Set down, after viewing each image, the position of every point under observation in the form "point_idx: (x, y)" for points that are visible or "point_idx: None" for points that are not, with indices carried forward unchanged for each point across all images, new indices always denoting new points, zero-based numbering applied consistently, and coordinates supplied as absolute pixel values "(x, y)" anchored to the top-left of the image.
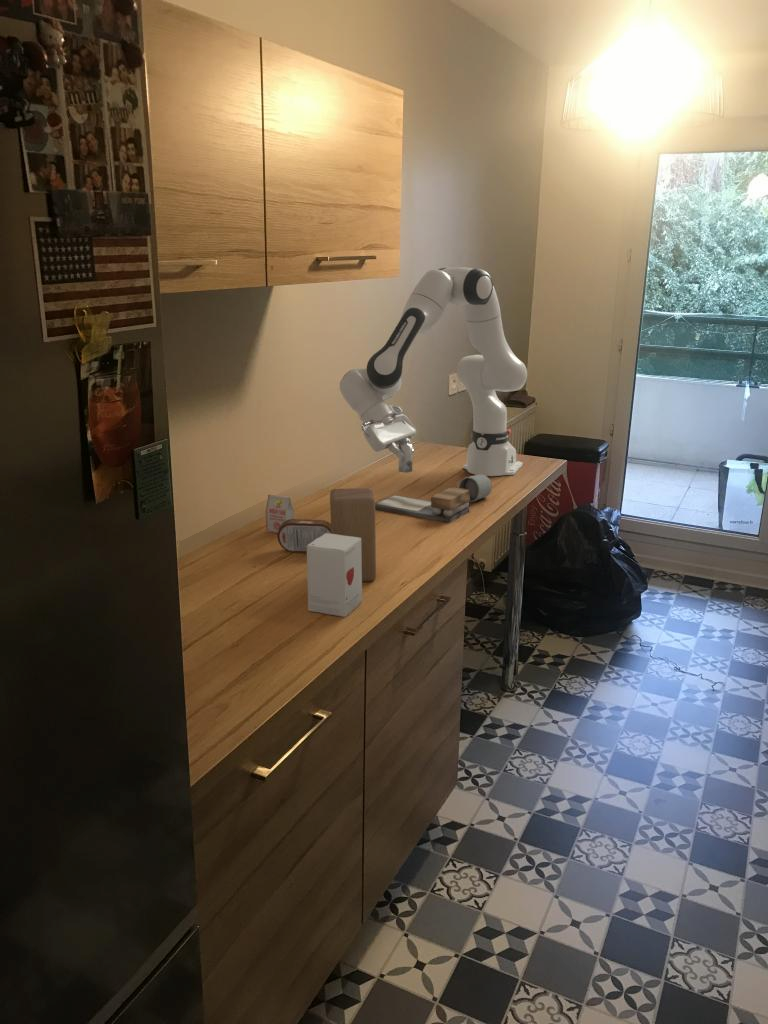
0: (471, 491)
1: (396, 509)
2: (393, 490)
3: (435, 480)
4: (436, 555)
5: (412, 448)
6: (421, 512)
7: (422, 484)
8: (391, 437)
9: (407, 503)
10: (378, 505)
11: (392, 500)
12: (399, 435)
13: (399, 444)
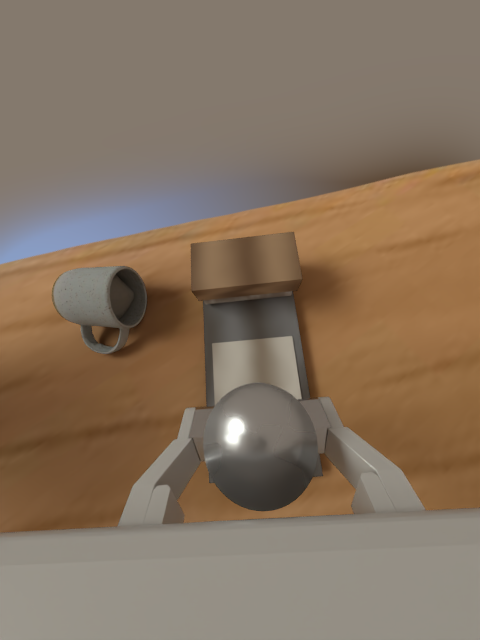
0: (125, 298)
1: (308, 390)
2: None
3: (6, 481)
4: (440, 190)
5: (191, 420)
6: (291, 325)
7: (55, 490)
8: (462, 588)
9: None
10: None
11: None
12: (262, 576)
13: (305, 477)
